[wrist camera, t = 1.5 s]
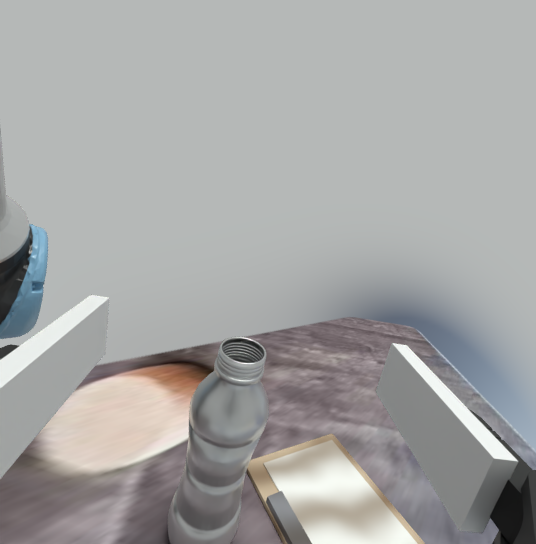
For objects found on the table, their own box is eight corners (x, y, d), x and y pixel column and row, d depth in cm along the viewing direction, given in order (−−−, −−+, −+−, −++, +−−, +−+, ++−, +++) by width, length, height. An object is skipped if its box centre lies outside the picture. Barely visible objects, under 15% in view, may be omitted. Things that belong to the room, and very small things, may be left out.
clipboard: (243, 465, 38) (245, 457, 37) (331, 436, 45) (333, 429, 45) (349, 674, 23) (354, 664, 23) (451, 580, 31) (456, 572, 30)
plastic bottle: (148, 556, 27) (182, 357, 21) (187, 487, 34) (221, 319, 28) (217, 591, 26) (273, 391, 20) (244, 513, 32) (292, 343, 26)
